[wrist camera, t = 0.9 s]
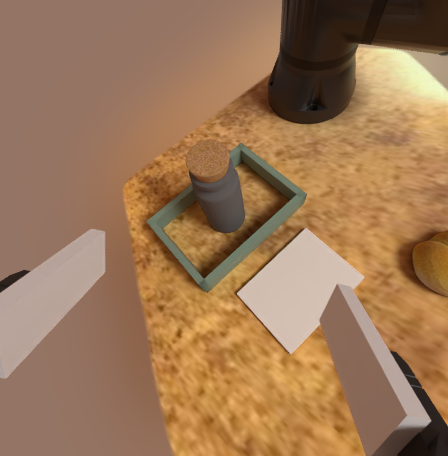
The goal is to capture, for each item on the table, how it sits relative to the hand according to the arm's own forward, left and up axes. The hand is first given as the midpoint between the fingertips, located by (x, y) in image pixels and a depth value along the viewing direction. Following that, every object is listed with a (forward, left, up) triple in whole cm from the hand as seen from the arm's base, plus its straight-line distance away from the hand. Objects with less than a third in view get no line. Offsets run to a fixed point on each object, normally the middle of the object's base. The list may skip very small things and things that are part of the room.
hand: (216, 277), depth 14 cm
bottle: (-7, -12, -22) cm, 26 cm away
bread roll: (-23, +14, -22) cm, 35 cm away
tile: (-7, +3, -22) cm, 23 cm away
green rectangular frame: (-7, -12, -22) cm, 26 cm away
